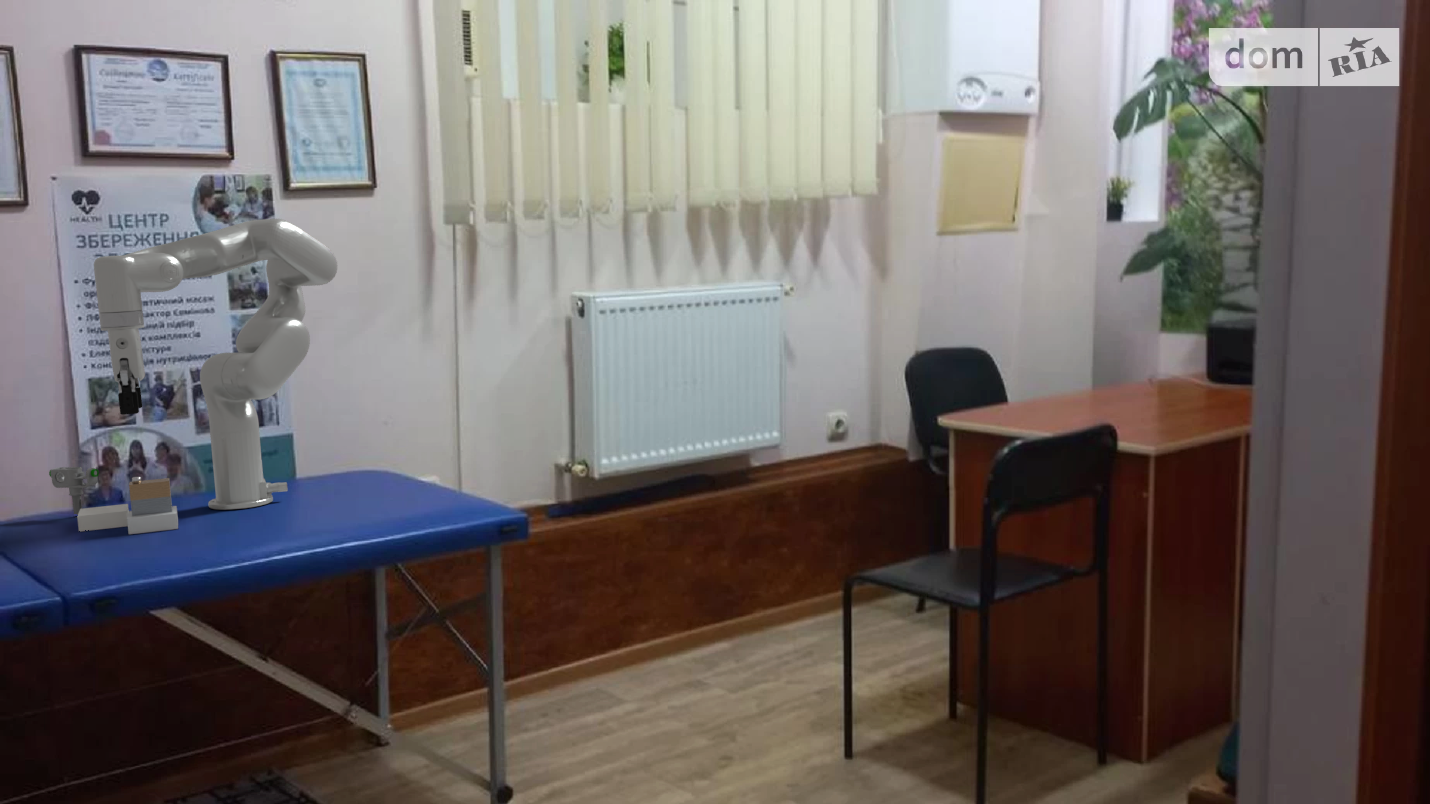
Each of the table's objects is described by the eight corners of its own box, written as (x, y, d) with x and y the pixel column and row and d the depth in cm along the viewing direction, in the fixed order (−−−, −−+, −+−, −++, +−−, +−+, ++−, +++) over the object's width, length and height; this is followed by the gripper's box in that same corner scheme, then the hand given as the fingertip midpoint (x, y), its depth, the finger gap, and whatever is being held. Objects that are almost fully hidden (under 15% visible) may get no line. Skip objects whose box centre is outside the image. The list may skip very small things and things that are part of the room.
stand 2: (178, 520, 252) (176, 505, 252) (178, 528, 244) (176, 513, 244) (130, 526, 249) (128, 511, 249) (128, 534, 241) (127, 518, 241)
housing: (172, 508, 250) (168, 472, 249) (172, 511, 246) (168, 475, 245) (132, 512, 247) (129, 476, 246) (132, 516, 243) (128, 479, 242)
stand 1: (129, 518, 257) (128, 503, 257) (128, 526, 249) (126, 511, 249) (81, 523, 254) (80, 508, 254) (78, 531, 246) (77, 516, 246)
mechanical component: (95, 518, 259) (90, 469, 258) (51, 518, 261) (46, 469, 260) (105, 514, 262) (100, 466, 261) (61, 515, 264) (56, 467, 263)
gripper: (140, 321, 236) (150, 414, 238) (146, 318, 252) (155, 404, 254) (95, 324, 233) (106, 418, 235) (104, 320, 249) (113, 408, 251)
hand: (131, 411), depth 244 cm, fingers open, 9 cm apart
